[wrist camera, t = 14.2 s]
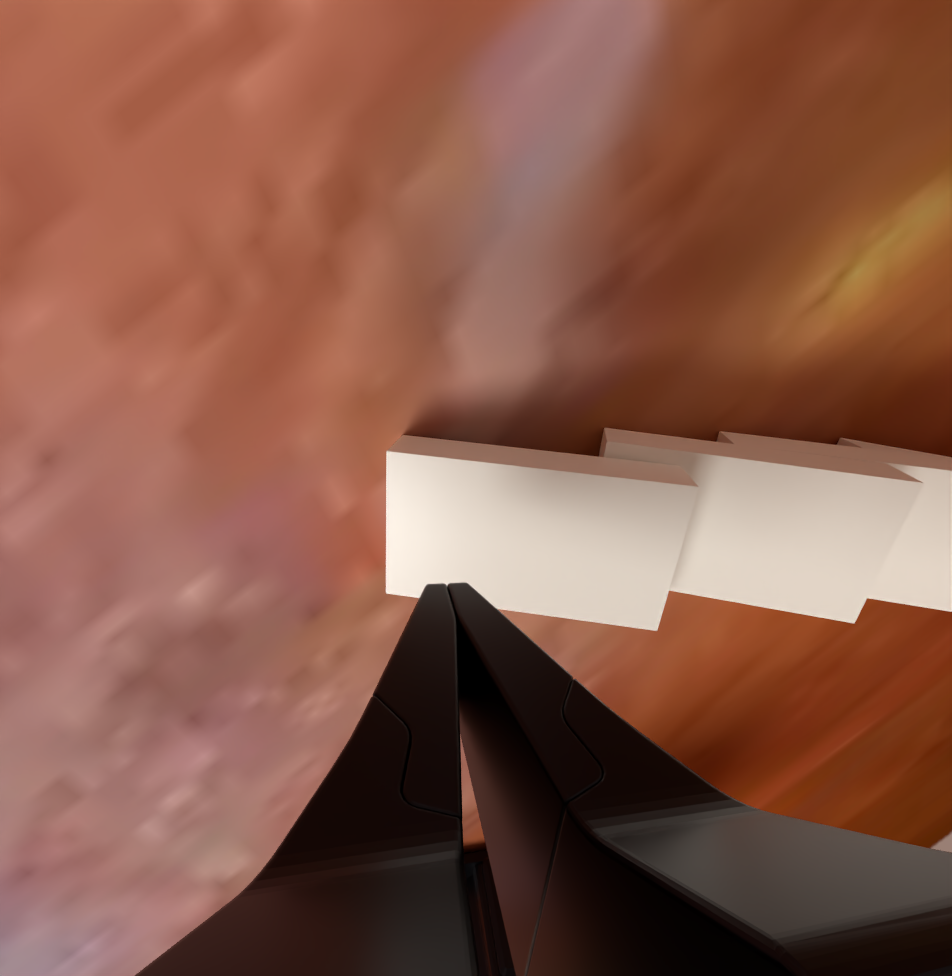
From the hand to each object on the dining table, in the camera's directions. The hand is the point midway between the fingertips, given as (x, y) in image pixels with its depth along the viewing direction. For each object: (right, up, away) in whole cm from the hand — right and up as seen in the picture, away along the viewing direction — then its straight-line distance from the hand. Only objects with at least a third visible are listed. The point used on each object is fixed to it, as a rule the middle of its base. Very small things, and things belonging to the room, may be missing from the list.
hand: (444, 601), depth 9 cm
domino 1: (-2, +2, +4) cm, 5 cm away
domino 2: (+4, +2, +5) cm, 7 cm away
